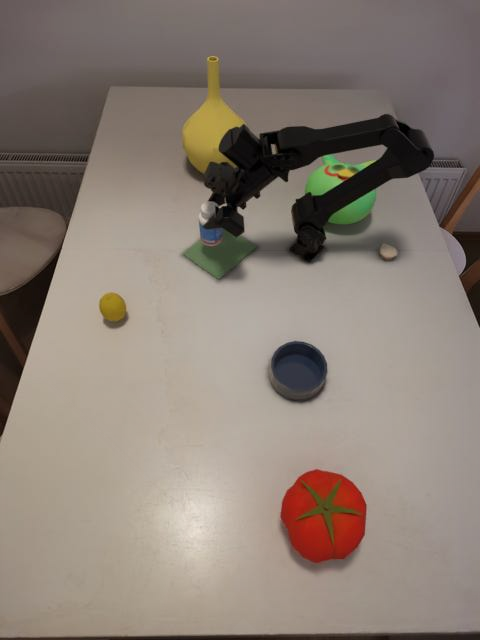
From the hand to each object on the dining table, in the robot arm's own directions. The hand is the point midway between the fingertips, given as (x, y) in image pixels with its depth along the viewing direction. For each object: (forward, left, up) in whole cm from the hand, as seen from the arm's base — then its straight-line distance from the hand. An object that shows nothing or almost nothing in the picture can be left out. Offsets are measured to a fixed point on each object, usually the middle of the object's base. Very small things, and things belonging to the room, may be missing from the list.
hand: (204, 219), depth 99 cm
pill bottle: (-1, +1, -6) cm, 7 cm away
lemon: (+28, -2, -11) cm, 30 cm away
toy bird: (-33, +16, -11) cm, 39 cm away
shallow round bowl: (+13, +37, -11) cm, 41 cm away
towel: (-2, +2, -11) cm, 11 cm away
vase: (-26, -21, -11) cm, 35 cm away
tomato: (+33, +56, -11) cm, 66 cm away
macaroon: (-29, +34, -11) cm, 46 cm away
